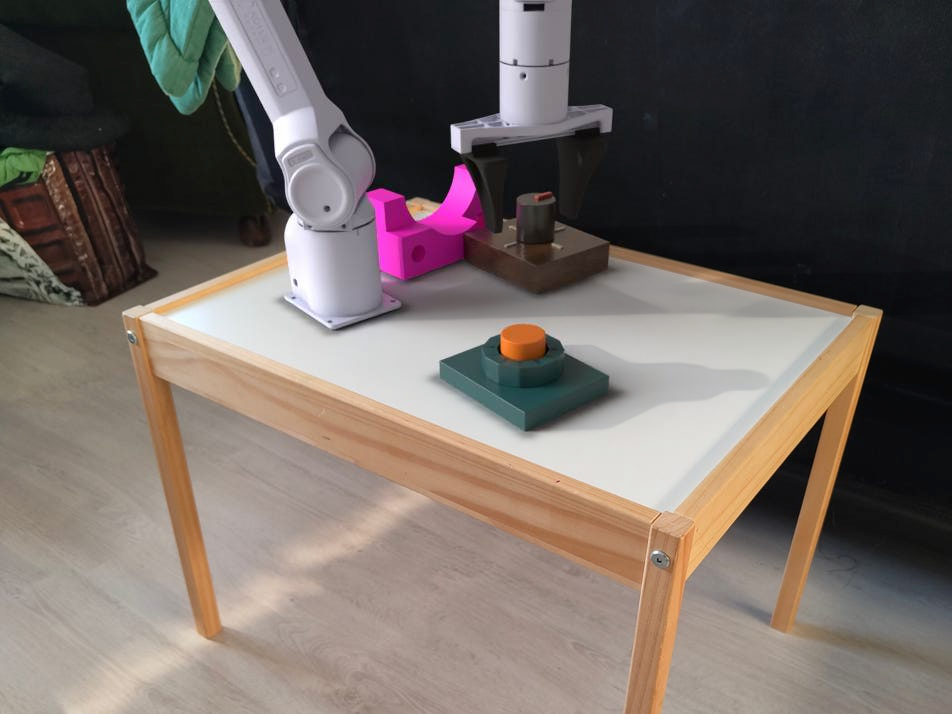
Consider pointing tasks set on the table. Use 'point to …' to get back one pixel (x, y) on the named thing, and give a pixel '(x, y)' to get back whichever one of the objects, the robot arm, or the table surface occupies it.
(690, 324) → the table surface
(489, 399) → the button base
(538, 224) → the heat dial
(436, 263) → the toy block
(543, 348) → the button
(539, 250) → the dial panel
